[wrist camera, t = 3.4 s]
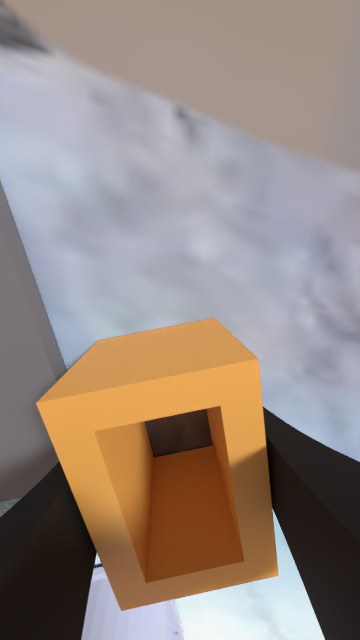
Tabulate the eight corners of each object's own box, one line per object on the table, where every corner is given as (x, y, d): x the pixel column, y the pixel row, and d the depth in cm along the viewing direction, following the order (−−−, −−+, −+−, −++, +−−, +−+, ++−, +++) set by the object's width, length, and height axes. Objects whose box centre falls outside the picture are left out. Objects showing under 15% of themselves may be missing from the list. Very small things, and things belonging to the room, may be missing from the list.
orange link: (234, 456, 12) (278, 575, 8) (138, 477, 12) (121, 610, 7) (214, 317, 10) (258, 358, 5) (98, 340, 10) (35, 403, 5)
